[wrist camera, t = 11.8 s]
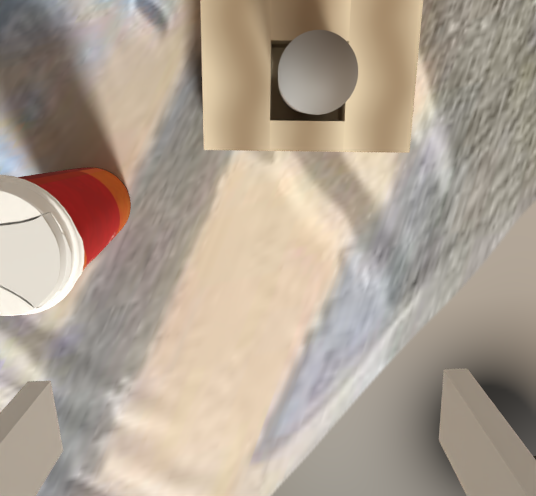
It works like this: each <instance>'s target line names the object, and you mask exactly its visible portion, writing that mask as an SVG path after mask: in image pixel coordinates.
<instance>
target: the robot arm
mask: <svg viewBox="0 0 536 496" xmlns="http://www.w3.org/2000/svg"><path fill="white" fill-rule="evenodd" d="M442 390H443V391H442V404H441V417H440V431H439V441H440V443H441V445H442V447H443V449H444V451H445V453H446V455H447V457H448V459H449V461H450V463H451V465H452V467H453V469H454V471H455V473H456V475H457V477H458V479H459V481H460V483H461V485H462V487H463V489H464V491H465V493H466V495H467V496H536V456H532V454H531V453H530V452H529V450H528V449H527V448H526V446H525V445H524V444H523V442H522V441H521V440H520V438H519V437H518V436H517V435H516V433H515V432H514V430H513V429H512V428H511V426H510V425H509V424H508V422H507V421H506V420H505V418H504V417H503V416H502V414H501V413H500V412H499V411H498V409H497V408H496V406H495V405H494V404H493V402H492V401H491V400H490V398H489V397H488V396H487V395H486V393H485V392H484V390H483V389H482V388H481V387H480V385H479V384H478V382H477V381H476V380H475V379H474V377H473V376H472V375H471V373H470V372H469V371H468V369H444V376H443V389H442ZM62 452H63V447H62V441H61V436H60V430H59V425H58V419H57V414H56V408H55V402H54V397H53V391H52V386H51V381H32V382H27V383H26V384H25V386H24V387H23V388H22V389H21V390H20V391H19V392H18V393H17V395H16V396H15V397H14V398H13V399H12V400H11V401H10V402H9V404H8V405H7V406H6V407H5V408H4V409H3V410H2V412H1V413H0V496H36V494H37V493H38V491H39V490H40V488H41V486H42V485H43V483H44V481H45V480H46V478H47V476H48V475H49V473H50V471H51V470H52V468H53V466H54V465H55V463H56V461H57V460H58V458H59V457H60V455H61V453H62Z"/></svg>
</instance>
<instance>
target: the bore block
mask: <svg viewBox="0 0 536 496" xmlns="http://www.w3.org/2000/svg"><path fill="white" fill-rule="evenodd" d="M422 6H423V0H200V9H201V50H202V91H203V132H204V150H255V151H330V152H405V153H409V150H410V139H411V128H412V117H413V106H414V95H415V84H416V72H417V61H418V50H419V39H420V28H421V17H422Z"/></svg>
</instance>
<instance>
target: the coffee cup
mask: <svg viewBox="0 0 536 496" xmlns="http://www.w3.org/2000/svg"><path fill="white" fill-rule="evenodd" d="M130 208H131V203H130V197H129V194H128V191H127V189H126V187H125V186H124V184H123V183H122V182H121V181H120V180H119V179H118V178H117V177H116V176H115V175H113V174H112V173H110V172H108V171H106V170H103V169H99V168H77V169H70V170H63V171H56V172H49V173H43V174H36V175H30V176H23V177H14V176H6V175H0V315H1V316H15V315H28V314H34V313H38V312H41V311H44V310H47V309H49V308H51V307H52V306H54V305H56V304H57V303H59V302H60V301H61V300H62V299H64V298H65V296H66V295H67V294H68V293H69V292H70V291H71V289H72V288H73V286H74V284H75V283H76V281H77V279H78V278H79V277H80V275H81V274H82V271H83V270H84V269H85V267H86V266H87V265H88V264H89V263H90V262H91V261H92V260H93V259H94V258H95V257H96V256H97V255H98V254H99V253H100V252H101V251H102V250H103V249H104V248H105V247H106V246H107V245H108V243H109V242H110V241H111V240H112V239H113V238H114V237H115V236H116V235H117V234H118V233H119V231H120V230H121V229H122V228H123V226H124V225H125V224H126V222H127V220H128V217H129V214H130Z"/></svg>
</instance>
